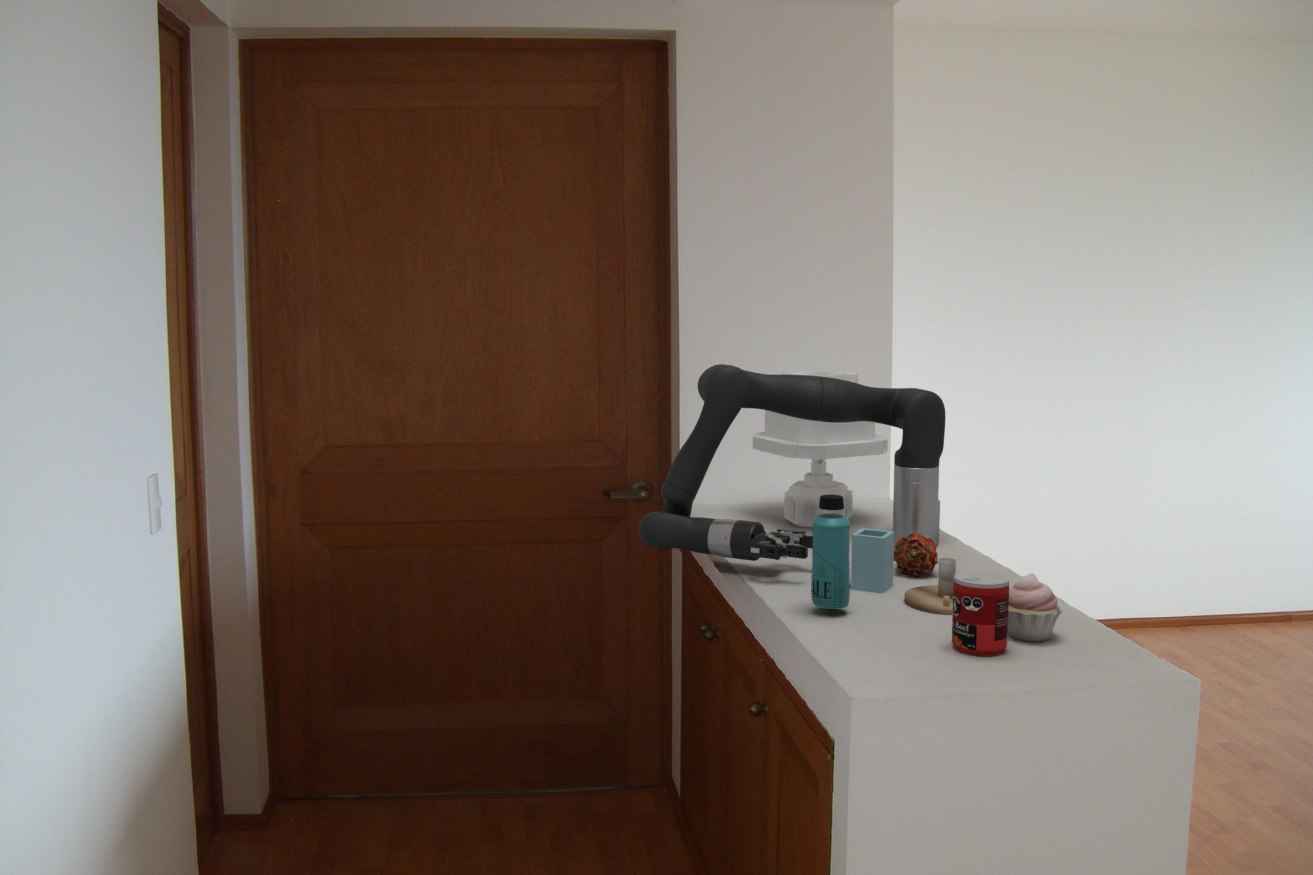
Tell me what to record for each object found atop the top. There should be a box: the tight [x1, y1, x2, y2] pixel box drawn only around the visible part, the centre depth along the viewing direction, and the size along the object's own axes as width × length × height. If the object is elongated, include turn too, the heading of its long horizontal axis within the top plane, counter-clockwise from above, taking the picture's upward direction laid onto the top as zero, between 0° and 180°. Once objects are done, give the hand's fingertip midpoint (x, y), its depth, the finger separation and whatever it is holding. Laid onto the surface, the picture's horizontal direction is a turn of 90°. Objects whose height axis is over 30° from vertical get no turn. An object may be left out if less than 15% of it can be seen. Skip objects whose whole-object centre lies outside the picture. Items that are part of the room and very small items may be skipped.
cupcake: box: [1007, 572, 1063, 643], centre depth 166 cm, size 9×9×10 cm
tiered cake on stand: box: [752, 370, 889, 528], centre depth 249 cm, size 27×27×35 cm
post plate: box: [904, 557, 957, 616], centre depth 184 cm, size 14×14×8 cm
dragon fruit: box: [893, 532, 939, 577], centre depth 205 cm, size 8×8×12 cm
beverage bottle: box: [810, 495, 851, 610], centre depth 179 cm, size 6×7×20 cm
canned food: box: [951, 570, 1010, 657], centre depth 160 cm, size 8×8×11 cm
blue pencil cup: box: [850, 528, 895, 594], centre depth 195 cm, size 6×6×10 cm
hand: (815, 548), depth 200 cm, fingers open, 8 cm apart
